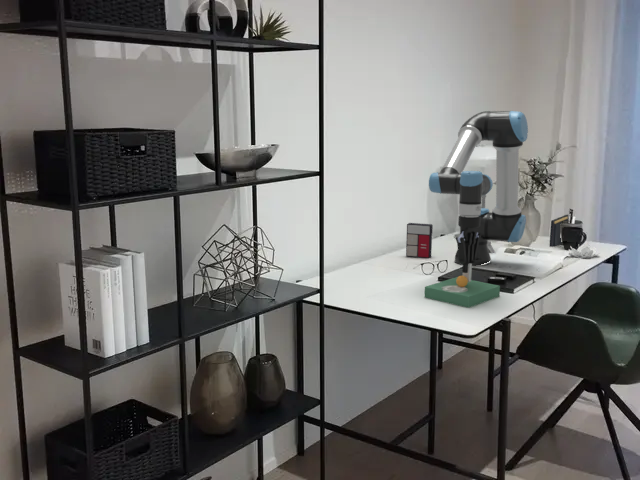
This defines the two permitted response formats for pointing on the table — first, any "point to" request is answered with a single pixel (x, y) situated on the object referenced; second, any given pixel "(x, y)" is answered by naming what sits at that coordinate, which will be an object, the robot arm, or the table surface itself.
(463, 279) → the ball
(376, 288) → the table surface
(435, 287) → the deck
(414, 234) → the grey and red block
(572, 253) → the lotus flower
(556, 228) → the dark blue book
